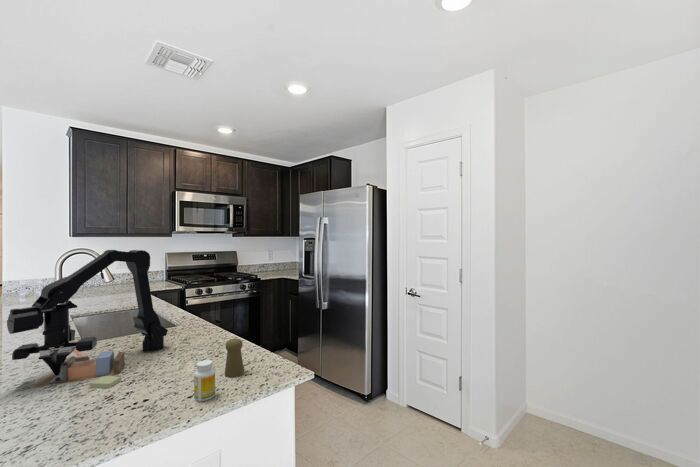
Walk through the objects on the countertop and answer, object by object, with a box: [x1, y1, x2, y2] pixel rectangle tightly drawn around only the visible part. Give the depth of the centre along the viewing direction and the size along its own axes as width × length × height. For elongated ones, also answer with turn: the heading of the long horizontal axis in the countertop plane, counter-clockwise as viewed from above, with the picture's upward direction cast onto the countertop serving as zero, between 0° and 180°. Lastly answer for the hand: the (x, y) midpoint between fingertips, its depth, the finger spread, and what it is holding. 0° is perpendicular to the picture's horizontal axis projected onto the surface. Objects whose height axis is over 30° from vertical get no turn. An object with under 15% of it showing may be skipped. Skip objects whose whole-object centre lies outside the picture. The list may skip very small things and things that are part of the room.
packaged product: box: [58, 348, 91, 363], centre depth 114 cm, size 18×5×10 cm
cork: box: [224, 338, 245, 378], centre depth 105 cm, size 6×6×11 cm
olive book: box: [89, 375, 122, 389], centre depth 96 cm, size 6×4×3 cm
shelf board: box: [30, 351, 125, 389], centre depth 103 cm, size 22×8×6 cm, turn 115°
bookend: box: [49, 356, 75, 386], centre depth 101 cm, size 4×8×5 cm, turn 25°
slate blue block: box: [95, 350, 115, 376], centre depth 105 cm, size 4×6×6 cm, turn 25°
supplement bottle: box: [193, 359, 216, 402], centre depth 91 cm, size 5×5×10 cm
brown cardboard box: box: [68, 358, 96, 380], centre depth 103 cm, size 7×6×4 cm
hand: (57, 375), depth 100 cm, fingers closed
